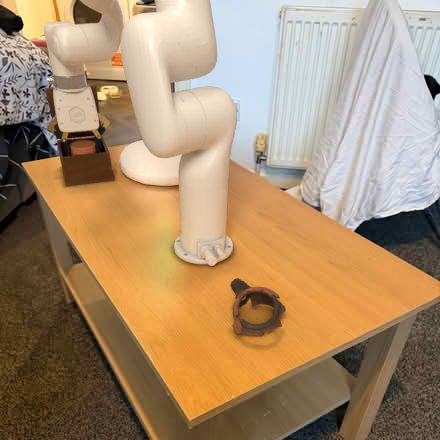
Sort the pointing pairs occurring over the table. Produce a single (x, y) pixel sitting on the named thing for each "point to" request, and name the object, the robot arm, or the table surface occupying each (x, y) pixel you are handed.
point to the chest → (86, 165)
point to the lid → (52, 110)
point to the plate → (149, 166)
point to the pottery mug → (257, 297)
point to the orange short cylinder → (83, 147)
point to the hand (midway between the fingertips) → (84, 153)
